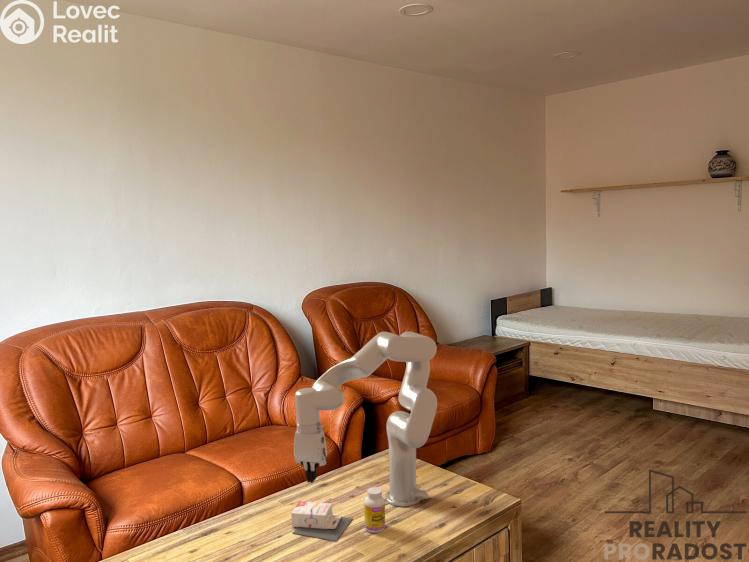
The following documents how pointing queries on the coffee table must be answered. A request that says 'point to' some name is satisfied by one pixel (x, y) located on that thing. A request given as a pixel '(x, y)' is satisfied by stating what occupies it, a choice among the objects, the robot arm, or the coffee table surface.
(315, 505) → the ink cartridge box
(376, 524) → the supplement bottle
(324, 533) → the mat
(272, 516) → the coffee table surface
